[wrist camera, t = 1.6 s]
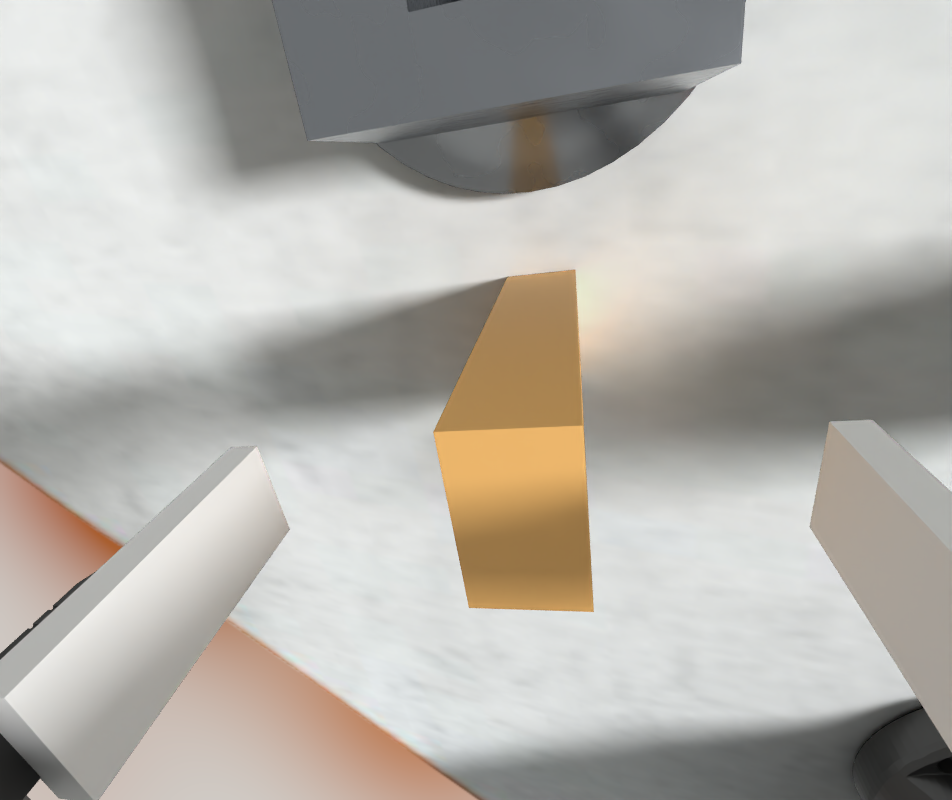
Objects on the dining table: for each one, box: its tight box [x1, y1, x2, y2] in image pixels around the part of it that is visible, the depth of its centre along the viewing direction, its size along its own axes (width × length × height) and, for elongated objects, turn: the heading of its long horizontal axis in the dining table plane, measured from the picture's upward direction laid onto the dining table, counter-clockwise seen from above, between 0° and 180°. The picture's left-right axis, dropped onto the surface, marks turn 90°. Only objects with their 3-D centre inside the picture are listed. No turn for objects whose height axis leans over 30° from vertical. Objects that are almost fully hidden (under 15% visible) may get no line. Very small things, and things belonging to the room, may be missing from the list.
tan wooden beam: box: [433, 270, 594, 612], centre depth 17 cm, size 5×3×14 cm, turn 8°
